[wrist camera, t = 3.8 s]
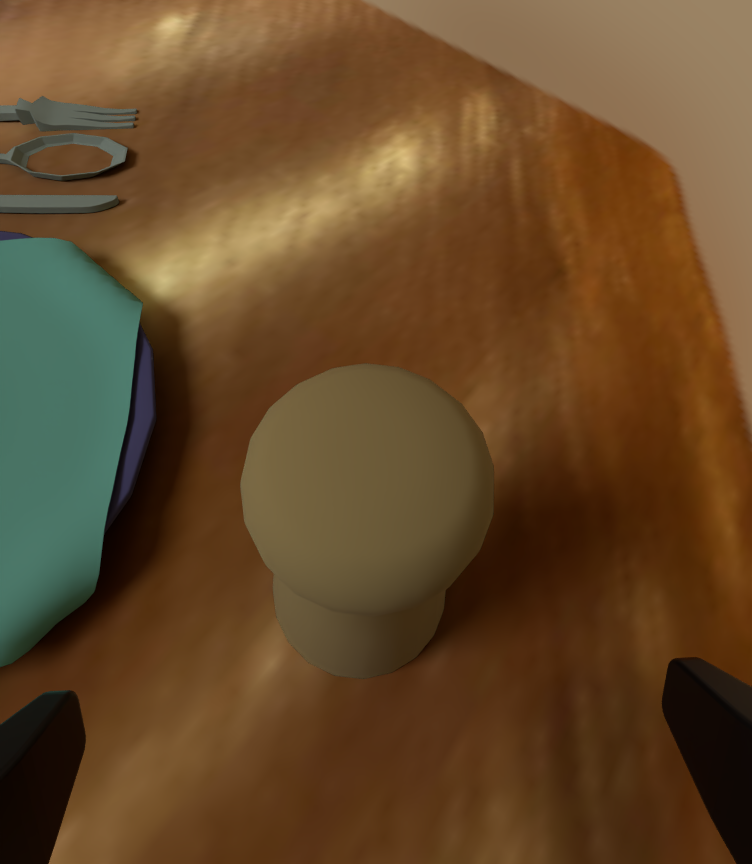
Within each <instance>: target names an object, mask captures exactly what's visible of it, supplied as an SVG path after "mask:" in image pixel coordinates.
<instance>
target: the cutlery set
mask: <svg viewBox="0 0 752 864" xmlns="http://www.w3.org/2000/svg"><path fill="white" fill-rule="evenodd" d="M116 114H137V109H108V108H100V107H94V106H87V105H79V104H71V103H61V102H56V101H51V100H49V99H47V98H45V97H43V96H42V97H40V98H39V99H37V100H36V101H35V102H33V103H30V102H28V101H25V100H23V99H21V98H19V100H18V103H17V105H15V106H0V121H8V120H20V122H21V123H22V124H23V125H25V124H33V123H36V125H37V127H38V128H39V130H40V131H56V130H92V129H123V128H134V123H107V122H117V121H135V119H136V118H135V116H108V115H116ZM72 143H73V144H81V145H88V146H96V147H99V148H100V149H102V150H104V151H106V152H108V153H109V154H111V155H113V159H112V162H111V165H110V167H107V168H105V169H102V170H100V171H97V172H89V173H80V174H71V175H63V176H61V175H53V174H46V173H39V172H32V171H31V170H29V169H28V168H26V165H27V162H28V158H29V156H30V155H32V154H34V153H36V152H38V151H41V150H43V149H45V148H47V147H51V146H58V145H65V144H72ZM127 149H128V148H126V147H124V146H122V145H120V144H118V143H116V142H114V141H112V140H111V139H109V138H107V137H99V136H91V135H84V134H76V133H71V134H62V135H52V136H43V137H38V138H35V139H33V140H30V141H28V142H25V143H23V144H20V145H18V146H15V147H13V148H12V149H11V150H10V151H9V152H8V153H7V154H1V153H0V163H3V164H11V165H15V166H19V167H20V168H22V169H23V170H25V171H26V172H28V173H30V174H31V175H33V176H34V177H40V178H47V179H54V180H60V181H65V180H73V179H81V178H88V177H93V176H96V175H98V174H100V173H102V172H105V171H107V170H109V169H111V168H114V167H116V166H118V165H119V164H121V163H123V162H125V158H126V153H127ZM117 204H119V200H118V198H117V196H106V195H0V212H4V213H90V212H97V211H102V210H105V209H108V208H111V207H114V206H116V205H117ZM142 306H143V303H142V302H141V301H140V300H139V299H138V298H137V297H136V296H134V295H133V294H132V293H131V292H130V291H129V290H127V289H125V288H124V287H123V286H122V285H121V284H120V283H119V282H118V281H117V280H116V279H114V278H113V277H111V276H110V275H109V274H108V273H107V272H106V271H105V270H104V269H103V268H101V267H100V266H99V265H98V264H96V263H95V262H94V261H93V260H92V259H91V258H90V257H89V256H88V255H87V254H86V253H84V252H83V251H82V250H81V249H79V248H78V247H77V246H76V245H75V244H73V243H72V242H69V241H65V240H60V239H56V238H32V237H30V236H27V235H25V234H22V233H14V232H5V231H0V667H2V666H5V665H8V664H12V663H13V662H14V661H16V660H17V659H18V658H20V657H21V656H22V655H24V654H25V653H26V652H28V651H29V650H30V649H31V648H33V647H34V646H35V645H36V644H37V643H38V642H39V641H40V640H41V639H42V638H43V637H44V636H45V635H46V634H47V633H48V632H49V631H50V630H51V629H52V628H53V627H54V626H55V625H56V624H57V623H58V622H60V621H61V620H62V619H64V618H65V617H66V616H68V615H69V614H70V613H72V612H73V611H74V610H76V609H77V608H78V607H80V606H81V605H82V604H84V603H85V602H86V601H87V600H88V599H89V597H90V596H91V595H92V594H93V593H94V591H95V587H96V584H97V580H98V576H99V571H100V562H101V553H102V544H103V536H104V534H105V533H106V532H107V530H108V529H109V527H110V526H111V524H112V523H113V522H114V520H115V519H116V517H117V516H118V514H119V513H120V512H121V510H122V509H123V507H124V506H125V504H126V503H127V502H128V500H129V499H130V497H131V496H132V493H133V490H134V487H135V484H136V481H137V478H138V475H139V472H140V469H141V466H142V463H143V459H144V456H145V453H146V450H147V447H148V444H149V441H150V438H151V435H152V432H153V429H154V426H155V422H156V400H155V379H154V359H153V349H152V347H151V345H150V343H149V341H148V339H147V337H146V335H145V333H144V331H143V329H142V327H141V325H140V323H139V321H140V315H141V310H142Z"/></svg>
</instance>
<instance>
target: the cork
mask: <svg viewBox="0 0 752 864" xmlns="http://www.w3.org/2000/svg"><path fill="white" fill-rule="evenodd" d="M240 487H241V496H242V505H243V513H244V522H245V524H246V527H247V529H248V531H249V533H250V535H251V537H252V539H253V541H254V543H255V545H256V547H257V549H258V551H259V553H260V555H261V557H262V559H263V561H264V563H265V564H266V566H267V567H268V568H269V569H270V570H271V571H272V572H273V573H274V579H273V595H274V603H275V611H276V617H277V619H278V621H279V624H280V626H281V628H282V630H283V632H284V634H285V636H286V638H287V640H288V642H289V643H290V644H291V645H292V646H293V647H294V648H295V649H296V650H297V651H298V652H299V653H300V654H301V655H302V657H303V658H304V659H305V660H306V661H307V662H308V663H310V664H312V665H314V666H316V667H318V668H320V669H322V670H324V671H326V672H328V673H330V674H332V675H334V676H342V677H351V678H359V679H366V678H370V677H374V676H379V675H383V674H388V673H392V672H393V671H395V670H397V669H398V668H400V667H401V666H403V665H405V664H406V663H408V662H409V661H411V660H413V659H414V658H416V657H417V656H418V654H419V653H420V652H421V651H422V649H423V648H424V647H425V646H426V645H427V643H428V642H429V641H430V640H431V638H432V637H433V636H434V634H435V631H436V629H437V626H438V623H439V621H440V618H441V616H442V613H443V610H444V603H445V593H446V589H447V588H449V587H450V586H451V585H452V583H453V582H454V581H455V580H456V579H457V577H458V576H459V575H460V574H461V573H462V572H463V570H464V569H465V568H466V567H467V566H468V564H469V563H470V562H471V561H472V560H473V558H474V557H475V556H476V555H477V553H478V552H479V551H480V549H481V547H482V544H483V541H484V538H485V536H486V533H487V530H488V528H489V525H490V522H491V520H492V517H493V514H494V466H493V463H492V460H491V457H490V454H489V451H488V447H487V444H486V441H485V438H484V435H483V432H482V431H481V430H480V428H479V427H478V426H477V424H476V423H475V421H474V420H473V419H472V417H471V416H470V415H469V413H468V412H467V410H466V409H465V408H464V406H463V405H462V404H461V403H460V402H459V401H457V400H456V399H455V398H453V397H452V396H451V395H450V394H448V393H447V392H446V391H444V390H443V389H442V388H440V387H439V386H438V385H436V384H435V383H434V382H432V381H431V380H430V379H427V378H425V377H422V376H420V375H417V374H415V373H412V372H410V371H407V370H405V369H402V368H400V367H393V366H384V365H376V364H367V363H365V364H358V365H352V366H345V367H338V368H333V369H330V370H328V371H326V372H324V373H321V374H319V375H317V376H315V377H312V378H310V379H308V380H306V381H303V382H301V383H299V384H297V385H296V386H295V387H294V388H292V389H291V390H290V391H289V392H288V393H286V394H285V395H284V396H283V397H282V398H281V399H279V400H278V401H277V402H276V403H275V404H274V405H272V406H271V407H270V408H269V410H268V411H267V413H266V414H265V416H264V418H263V419H262V421H261V423H260V424H259V426H258V427H257V429H256V431H255V432H254V434H253V435H252V437H251V439H250V443H249V448H248V452H247V456H246V461H245V465H244V469H243V474H242V478H241V483H240Z"/></svg>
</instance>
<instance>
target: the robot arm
mask: <svg viewBox="0 0 752 864" xmlns="http://www.w3.org/2000/svg"><path fill="white" fill-rule="evenodd" d="M662 709H663V713H664V717H665V719H666V721H667V724H668V726H669V728H670V730H671V732H672V735H673V737H674V739H675V741H676V743H677V746H678V748H679V750H680V752H681V754H682V756H683V759H684V761H685V763H686V765H687V767H688V770H689V772H690V774H691V776H692V778H693V781H694V783H695V785H696V787H697V789H698V792H699V794H700V796H701V798H702V800H703V802H704V804H705V806H706V809H707V811H708V813H709V815H710V817H711V819H712V821H713V822H714V824H715V826H716V828H717V830H718V832H719V833H720V835H721V837H722V839H723V841H724V842H725V844H726V846H727V848H728V849H729V851H730V853H731V855H732V856H733V858H734V860H735V862H736V863H737V864H752V687H751V686H749V685H747V684H746V683H744V682H742V681H740V680H738V679H737V678H735V677H733V676H731V675H729V674H728V673H726V672H724V671H722V670H720V669H719V668H717V667H715V666H713V665H712V664H710V663H708V662H706V661H704V660H702V659H700V658H697V657H689V658H675V659H673V660H671V661H670V663H669V665H668V669H667V674H666V680H665V685H664V691H663V696H662ZM85 743H86V734H85V728H84V723H83V718H82V713H81V709H80V704H79V699H78V696H77V694H76V693H75V692H73V691H70V690H68V691H50V692H45V693H43V694H42V695H40V696H38V697H37V698H36V699H34V700H33V701H32V702H30V703H29V704H28V705H26V706H25V707H24V708H22V709H21V710H19V711H18V712H17V713H15V714H14V715H13V716H11V717H10V718H9V719H7V720H6V721H5V722H3V723H2V724H0V864H48V863H49V860H50V857H51V854H52V852H53V849H54V846H55V842H56V839H57V836H58V833H59V830H60V827H61V823H62V820H63V817H64V814H65V811H66V808H67V804H68V801H69V798H70V795H71V792H72V788H73V785H74V782H75V779H76V776H77V773H78V769H79V766H80V763H81V760H82V757H83V753H84V750H85Z"/></svg>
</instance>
